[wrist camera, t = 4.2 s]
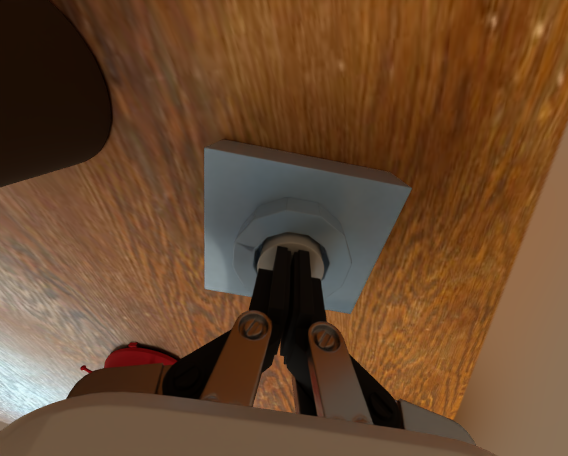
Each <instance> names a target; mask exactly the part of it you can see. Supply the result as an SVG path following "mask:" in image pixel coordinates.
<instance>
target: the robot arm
mask: <svg viewBox="0 0 568 456" xmlns="http://www.w3.org/2000/svg"><path fill="white" fill-rule="evenodd" d="M280 341H281V347H280V355H281V356H284V364H287V368H288V370H289V371H290V372H291V373H292V385H293V394H294V403H295V411H296V413H289V412H282V411H275V410H268V409H261V408H254V407H253V404H254V400H255V396H256V393H257V389H258V385H259V382H260V378H261V374H262V373H263V372H264V371H265V370H266V369H268V368H269V367H270V366H271V365H272V362H273V358H274V355H277V351H278V348H279V344H280ZM0 456H497V455H495V454H493V453H491V452H489V451H487V450H485V449H482V448H480V447H478V446H476V444H475V442H474V440H473V439H472V438H471V436H470V435H469V434H468V432H467V431H466V430H465V429H464V428H463V427H462V426H461V425H459V424H458V423H456V422H455V421H453V420H451V419H449V418H446V417H444V416H441V415H439V414H436V413H434V412H432V411H429V410H427V409H424V408H422V407H419V406H417V405H414V404H412V403H410V402H407V401H405V400H402V399H399V400H398V401H397V400H395V399H394V398H393V397H392V396H391V395H390V394H389V392H388V391H387V390H386V389H385V388H383V387H382V386H381V385H380V384H379V383H378V382H377V381H376V380H375V379H374V378H373V377H372V376H371V375H370V374H369V373H368V372H367V371H366V370H365V369H364V368H363V367H362V366H361V365H360V364H359V363H358V362H357V361H356V360H355V359H354V358H353V357H352V356H351V355H350V354H349V353H348V350H347V347H346V344H345V341H344V338H343V336H342V334H341V332H340V331H339V330H338V329H337V328H336V327H335V326H334V325H332V324H330V323H328V322H327V321H326V314H325V306H324V299H323V292H322V285H321V280H320V278H314V277H311V267H310V255H309V251H304V250H298V252H294V254H293V258H292V262H291V251H288V248H287V247H281V246H277V251H276V256H275V261H274V266H273V270H267V269H262V268H259V269H258V273H257V277H256V282H255V286H254V290H253V295H252V299H251V303H250V307H249V311H246V312H244V313H242V314H241V315H240V316H239V317H238V318H237V320H236V322H235V324H234V326H233V328H232V329H231V330H230V331H228V332H226V333H224V334H223V335H221V336H219V337H218V338H216V339H214V340H212V341H211V342H209V343H207V344H206V345H204V346H202V347H200V348H199V349H197V350H195V351H194V352H192V353H190V354H189V355H187V356H185V357H183V358H182V359H180V360H178V361H177V362H176V363H174V364H173V365H163V363H155V364H144V365H133V366H122V367H111V368H103V369H99V370H95V371H93V372H91V373H89V374H87V375H85V376H84V377H83V378H82V379H81V380H79V381H78V382H77V383H76V384H75V386H74V387H73V388H72V390H71V391H70V393H69V395H68V397H67V398H66V399H65V400H61V401H58V402H55V403H52V404H49V405H47V406H44V407H41V408H39V409H36V410H34V411H32V412H30V413H28V414H26V415H24V416H22V417H20V418H19V419H17V420H15V421H14V422H12V423H11V424H10V425H8V426H7V427H5V428H4V429H3V430H1V431H0Z"/></svg>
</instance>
